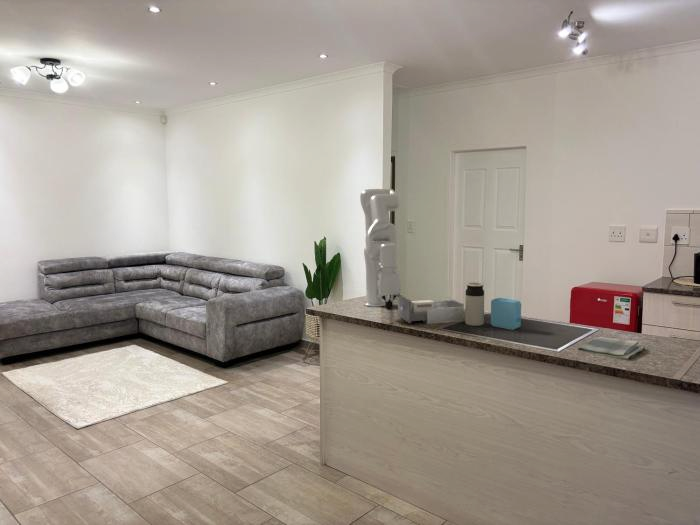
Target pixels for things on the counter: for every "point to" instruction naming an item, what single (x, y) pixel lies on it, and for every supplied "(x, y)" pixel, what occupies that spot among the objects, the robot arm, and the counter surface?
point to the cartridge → (422, 306)
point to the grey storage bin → (445, 312)
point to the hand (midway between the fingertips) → (388, 309)
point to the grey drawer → (408, 311)
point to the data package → (506, 313)
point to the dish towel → (612, 347)
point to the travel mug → (474, 304)
